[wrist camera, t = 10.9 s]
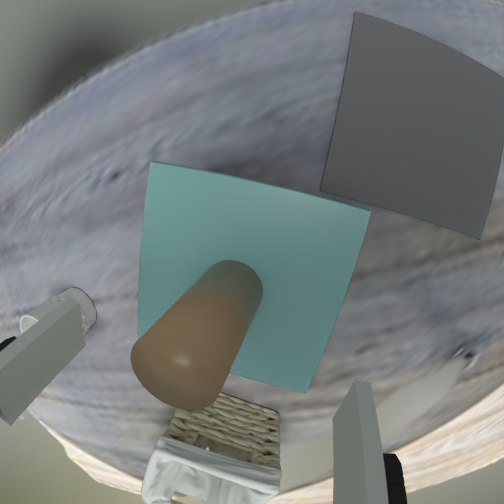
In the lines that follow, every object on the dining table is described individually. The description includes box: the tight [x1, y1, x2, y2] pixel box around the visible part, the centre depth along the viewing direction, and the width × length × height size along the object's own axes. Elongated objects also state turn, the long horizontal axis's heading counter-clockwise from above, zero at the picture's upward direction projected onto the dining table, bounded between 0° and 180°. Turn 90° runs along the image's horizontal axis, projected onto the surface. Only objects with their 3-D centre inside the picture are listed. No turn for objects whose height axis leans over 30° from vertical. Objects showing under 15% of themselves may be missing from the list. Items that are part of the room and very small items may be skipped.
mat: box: [320, 11, 504, 240], centre depth 25 cm, size 20×20×1 cm
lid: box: [131, 162, 371, 410], centre depth 16 cm, size 14×14×10 cm
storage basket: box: [141, 392, 282, 504], centre depth 37 cm, size 24×16×15 cm
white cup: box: [20, 287, 96, 336], centre depth 35 cm, size 8×8×10 cm
